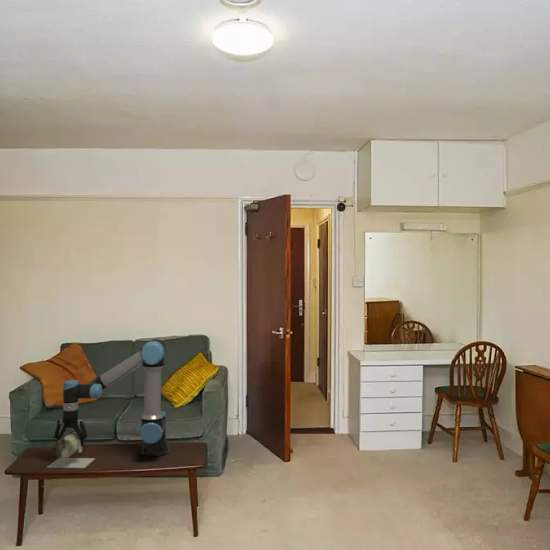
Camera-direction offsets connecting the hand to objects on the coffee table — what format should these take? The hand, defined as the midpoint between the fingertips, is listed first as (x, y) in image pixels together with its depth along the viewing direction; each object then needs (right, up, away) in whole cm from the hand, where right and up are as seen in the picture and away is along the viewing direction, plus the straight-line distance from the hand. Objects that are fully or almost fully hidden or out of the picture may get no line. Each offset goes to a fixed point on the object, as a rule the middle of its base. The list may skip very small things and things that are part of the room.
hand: (70, 451), depth 279 cm
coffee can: (0, +4, -8) cm, 9 cm away
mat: (0, -7, +1) cm, 7 cm away
